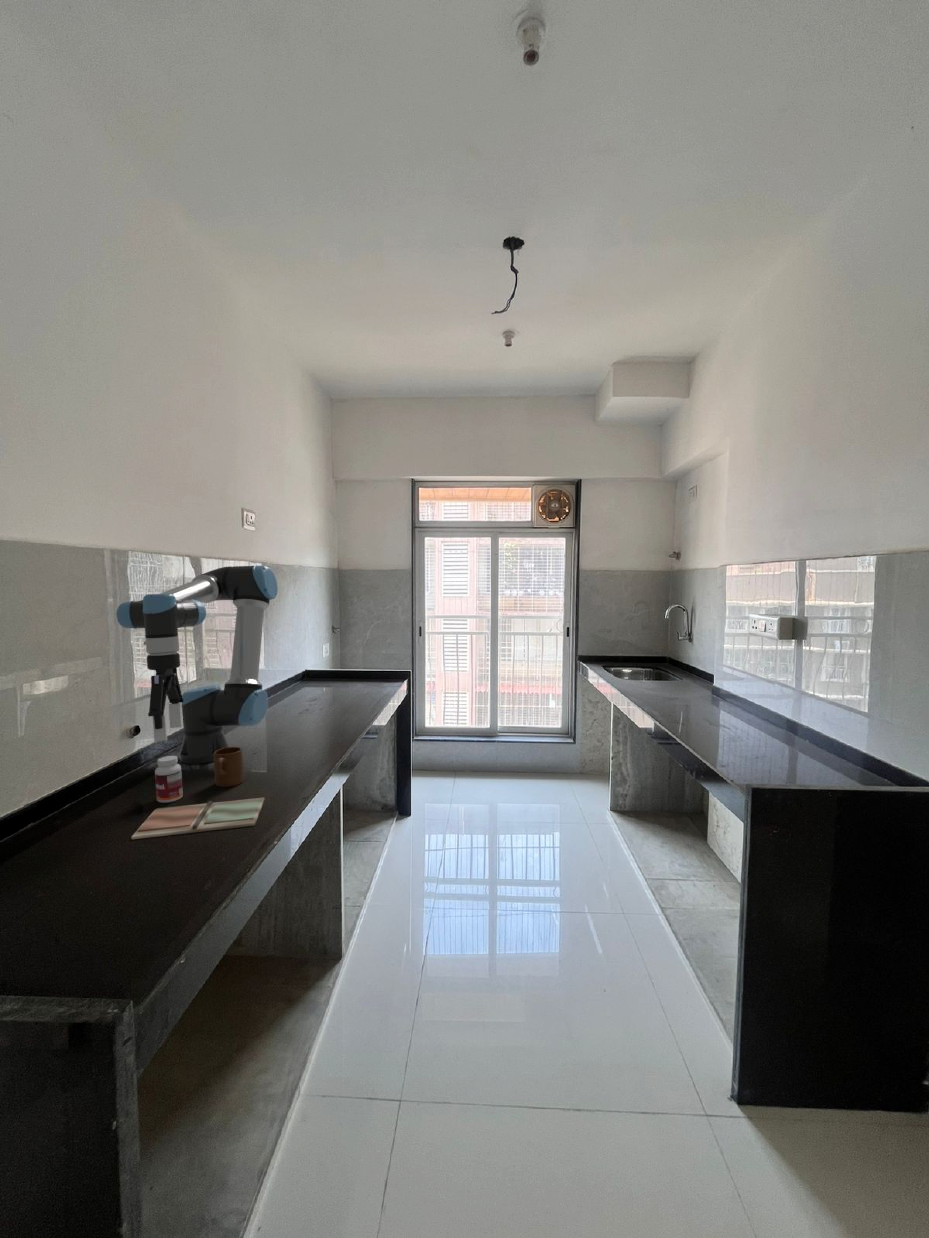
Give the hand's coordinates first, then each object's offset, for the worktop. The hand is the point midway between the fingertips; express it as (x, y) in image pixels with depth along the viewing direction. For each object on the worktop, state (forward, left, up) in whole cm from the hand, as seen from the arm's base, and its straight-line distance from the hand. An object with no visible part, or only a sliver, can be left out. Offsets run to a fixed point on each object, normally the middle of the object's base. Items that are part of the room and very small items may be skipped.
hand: (168, 733), depth 145 cm
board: (+15, +11, -18) cm, 25 cm away
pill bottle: (-1, -1, -18) cm, 18 cm away
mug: (-7, +12, -18) cm, 23 cm away
